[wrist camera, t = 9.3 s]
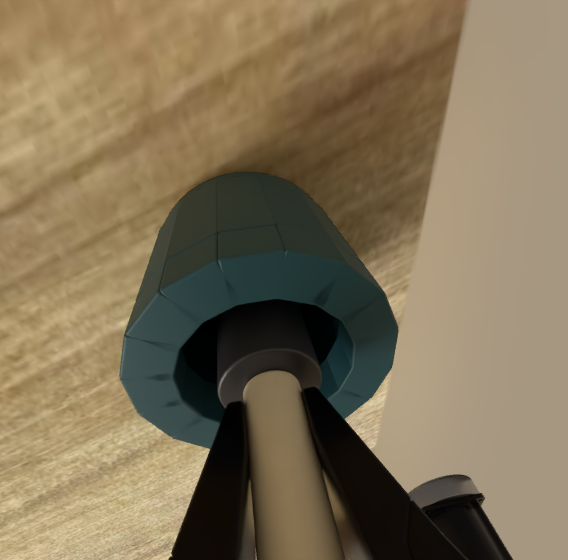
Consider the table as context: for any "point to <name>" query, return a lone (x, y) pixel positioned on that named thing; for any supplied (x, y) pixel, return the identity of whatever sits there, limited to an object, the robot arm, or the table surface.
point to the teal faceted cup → (249, 300)
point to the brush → (278, 427)
